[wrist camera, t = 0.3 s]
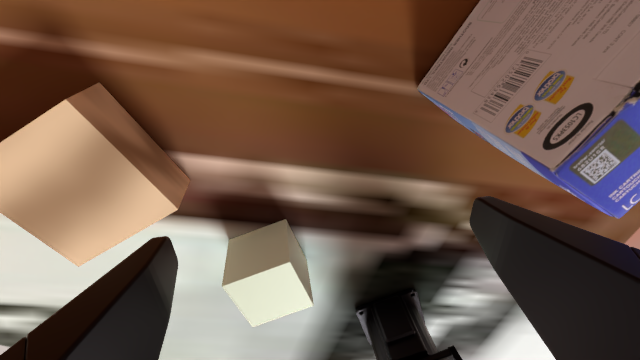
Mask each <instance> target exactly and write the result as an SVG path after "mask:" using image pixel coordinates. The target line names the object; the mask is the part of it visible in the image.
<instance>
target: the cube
mask: <svg viewBox="0 0 640 360" xmlns="http://www.w3.org/2000/svg"><path fill="white" fill-rule="evenodd" d="M222 287H223V289H224V290H225V291H226V292H227V294H228V295H229V296H230V298H231V299H232V300H233V302H234V303H235V304H236V306H237V307H238V308H239V310H240V311H241V312H242V314H243V315H244V316H245V318H246V319H247V320H248V322H249V323H250V324H251V326H252V327H255V326H258V325H261V324H263V323H266V322H269V321H272V320H275V319H278V318H280V317H283V316H286V315H289V314H292V313H295V312H297V311H300V310H303V309H306V308H309V307H311V306H314V304H313V298H312V291H311V285H310V279H309V273H308V266H307V260H306V258H305V256H304V254H303V252H302V250H301V248H300V246H299V244H298V242H297V240H296V238H295V236H294V234H293V232H292V230H291V228H290V226H289V224H288V222H287V220H286V219H284V220H282V221H279V222H276V223H273V224H271V225H268V226H265V227H262V228H260V229H257V230H254V231H251V232H249V233H246V234H243V235H241V236H238V237H235V238H232V239H230V240H229V243H228V250H227V256H226V263H225V270H224V276H223V283H222Z"/></svg>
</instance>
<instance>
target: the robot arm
mask: <svg viewBox="0 0 640 360" xmlns="http://www.w3.org/2000/svg"><path fill="white" fill-rule="evenodd" d="M470 226H471V228H472V230H473V232H474V234H475V236H476V238H477V239H478V241H479V243H480V245H481V247H482V249H483V250H484V252H485V254H486V256H487V258H488V260H489V261H490V263H491V265H492V267H493V268H494V270H495V271H496V273H497V274H498V276H499V277H500V279H501V280H502V282H503V283H504V285H505V286H506V288H507V289H508V291H509V292H510V293H511V295H512V296H513V298H514V299H515V301H516V302H517V304H518V305H519V307H520V308H521V309H522V311H523V312H524V314H525V315H526V317H527V318H528V320H529V321H530V323H531V324H532V325H533V327H534V328H535V330H536V331H537V333H538V334H539V336H540V337H541V339H542V340H543V341H544V343H545V344H546V346H547V347H548V349H549V350H550V352H551V353H552V354H553V356H554V357H555V359H556V360H640V250H639V249H637V248H634V247H629V246H628V245H625V244H623V243H620V242H617V241H614V240H611V239H609V238H606V237H603V236H600V235H597V234H595V233H592V232H589V231H586V230H583V229H580V228H578V227H575V226H572V225H569V224H566V223H564V222H561V221H558V220H555V219H552V218H550V217H547V216H544V215H541V214H538V213H536V212H533V211H530V210H527V209H524V208H522V207H519V206H516V205H513V204H510V203H508V202H505V201H502V200H499V199H496V198H494V197H491V196H486V197H478V198H476V199H475V200H474V203H473V207H472V212H471V216H470ZM177 269H178V260H177V256H176V253H175V251H174V248H173V245H172V242H171V240H170V238H169V237H167V236H164V237H156V238H152V239H150V240H149V241H148V242H146V243H145V244H144V245H143V246H141V247H140V248H139V249H137V250H136V251H135V252H134V253H132V254H131V255H130V256H128V257H127V258H126V259H124V260H123V261H122V262H121V263H119V264H118V265H117V266H115V267H114V268H113V269H112V270H110V271H109V272H108V273H106V274H105V275H104V276H102V277H101V278H100V279H99V280H97V281H96V282H95V283H93V284H92V285H91V286H89V287H88V288H87V289H86V290H84V291H83V292H82V293H80V294H79V295H78V296H77V297H75V298H74V299H73V300H71V301H70V302H69V303H67V304H66V305H65V306H64V307H62V308H61V309H60V310H58V311H57V312H56V313H55V314H53V315H52V316H51V317H49V318H48V319H47V320H45V321H44V322H43V323H42V324H40V325H39V326H38V327H36V328H35V329H34V330H32V331H31V332H30V333H29V334H28V335H27V338H26V337H24V338H22V339H21V340H19V341H18V342H17V343H16V344H14V345H13V346H12V347H10V348H9V349H8V350H7V351H5V352H4V353H3V354H1V355H0V360H158V359H159V355H160V351H161V348H162V344H163V341H164V337H165V334H166V330H167V326H168V322H169V318H170V313H171V308H172V301H173V295H174V288H175V282H176V276H177ZM356 313H357V316H358V318H359V321H360V323H361V325H362V328H363V330H364V332H365V334H366V337H367V339H368V341H369V343H370V344H371V345H372V346H373V350H374V353H375V356H376V359H377V360H462V358H461V357H460V355H459V353H458V352H457V350H456V348H455V347H454V345H453V346H450V347H448V349H445V350H443V351H440V352H438V350H437V348H436V346H435V344H434V342H433V340H432V338H431V336H430V334H429V332H428V330H427V328H426V326H425V321H424V317H423V313H422V310H421V306H420V302H419V298H418V294H417V292H416V290H415V289H413V288H412V289H408V290H405V291H403V292H400V293H397V294H394V295H391V296H388V297H386V298H383V299H380V300H377V301H374V302H371V303H369V304H366V305H363V306H360V307H358V308H357V309H356Z"/></svg>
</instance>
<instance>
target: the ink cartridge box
mask: <svg viewBox="0 0 640 360" xmlns="http://www.w3.org/2000/svg"><path fill="white" fill-rule="evenodd" d="M417 89H418V91H419V92H420V93H421V94H423V95H424V96H425V97H427V98H428V99H429V100H430V101H432V102H433V103H434V104H435V105H437V106H438V107H439V108H441V109H442V110H443V111H444V112H445V113H447V114H448V115H449V116H450V117H452V118H453V119H454V120H456V121H457V122H459V123H460V124H462V125H463V126H465V127H466V128H467V129H469V130H470V131H472V132H473V133H475V134H476V135H478V136H479V137H481V138H482V139H484V140H485V141H487V142H489V143H490V144H491V145H493V146H495V147H496V148H498V149H499V150H501V151H502V152H504V153H505V154H507V155H509V156H510V157H512V158H513V159H515V160H516V161H518V162H520V163H521V164H523V165H524V166H526V167H528V168H529V169H531V170H532V171H534V172H536V173H537V174H539V175H541V176H542V177H544V178H546V179H548V180H549V181H551V182H553V183H554V184H556V185H558V186H559V187H561V188H563V189H564V190H566V191H568V192H569V193H571V194H573V195H574V196H576V197H577V198H579V199H581V200H583V201H584V202H586V203H588V204H590V205H591V206H593V207H595V208H596V209H598V210H600V211H602V212H604V213H605V214H607V215H609V216H613V217H616V218H618V219H619V218H620V217H622V216H623V215H624V214H625V213H626V212H628V211H629V210H630V209H631V208H632V207H633V206H634V205H635V204H636V203H638V202H639V201H640V0H480V1H479V3H478V4H477V6H476V7H475V8H474V10H473V11H472V12H471V14H470V15H469V17H468V18H467V19H466V21H465V22H464V23H463V25H462V26H461V28H460V29H459V30H458V32H457V33H456V34H455V36H454V37H453V39H452V40H451V41H450V43H449V44H448V46H447V47H446V48H445V50H444V51H443V52H442V54H441V55H440V57H439V58H438V59H437V61H436V62H435V64H434V65H433V66H432V68H431V69H430V71H429V72H428V73H427V75H426V76H425V77H424V79H423V80H422V82H421V83H420V84H419V86H418V88H417Z"/></svg>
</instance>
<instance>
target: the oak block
mask: <svg viewBox="0 0 640 360" xmlns="http://www.w3.org/2000/svg"><path fill="white" fill-rule="evenodd" d="M189 182H190V179H189V178H188V177H187V176H186V175H185V174H184V173H183V172H182V171H181V169H180V168H179V167H178V166H177V165H176V164H175V163H174V162H173V161H172V160H171V159H170V158H169V157H168V155H167V154H166V153H165V152H164V151H163V150H162V149H161V148H160V147H159V146H158V145H157V144H156V143H155V142H154V140H153V139H152V138H151V137H150V136H149V135H148V134H147V133H146V132H145V131H144V130H143V129H142V128H141V126H140V125H139V124H138V123H137V122H136V121H135V120H134V119H133V118H132V117H131V116H130V115H129V114H128V113H127V111H126V110H125V109H124V108H123V107H122V106H121V105H120V104H119V103H118V102H117V101H116V100H115V99H114V97H113V96H112V95H111V94H110V93H109V92H108V91H107V90H106V89H105V88H104V87H103V86H102V85H101V84H100V82H99V83H97V84H95V85H93V86H91V87H89V88H87V89H85V90H83V91H81V92H79V93H77V94H75V95H73V96H71V97H69V98H67V99H65V100H64V101H62V102H61V103H59V104H58V105H56V106H55V107H53V108H52V109H50V110H49V111H47V112H46V113H44V114H43V115H41V116H40V117H38V118H37V119H35V120H34V121H32V122H31V123H29V124H28V125H26V126H25V127H23V128H22V129H20V130H19V131H17V132H16V133H14V134H13V135H11V136H10V137H8V138H7V139H5V140H3V141H2V142H0V213H2V214H3V215H5V216H6V217H7V218H9V219H10V220H12V221H13V222H15V223H16V224H18V225H19V226H20V227H22V228H23V229H25V230H26V231H28V232H29V233H31V234H32V235H33V236H35V237H36V238H38V239H39V240H41V241H42V242H44V243H45V244H46V245H48V246H49V247H51V248H52V249H54V250H55V251H57V252H58V253H59V254H61V255H62V256H64V257H65V258H67V259H68V260H70V261H71V262H72V263H74V264H75V265H77V266H78V267H79V266H81V265H82V264H84V263H86V262H87V261H89V260H91V259H93V258H94V257H96V256H98V255H100V254H101V253H103V252H105V251H107V250H108V249H110V248H112V247H114V246H115V245H117V244H119V243H120V242H122V241H124V240H126V239H127V238H129V237H131V236H133V235H134V234H136V233H138V232H140V231H141V230H143V229H145V228H147V227H148V226H150V225H152V224H153V223H155V222H157V221H159V220H160V219H162V218H164V217H166V216H167V215H169V214H171V213H173V212H174V211H176V210H178V209H179V206H180V204H181V201H182V199H183V196H184V194H185V192H186V189H187V187H188V184H189Z"/></svg>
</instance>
